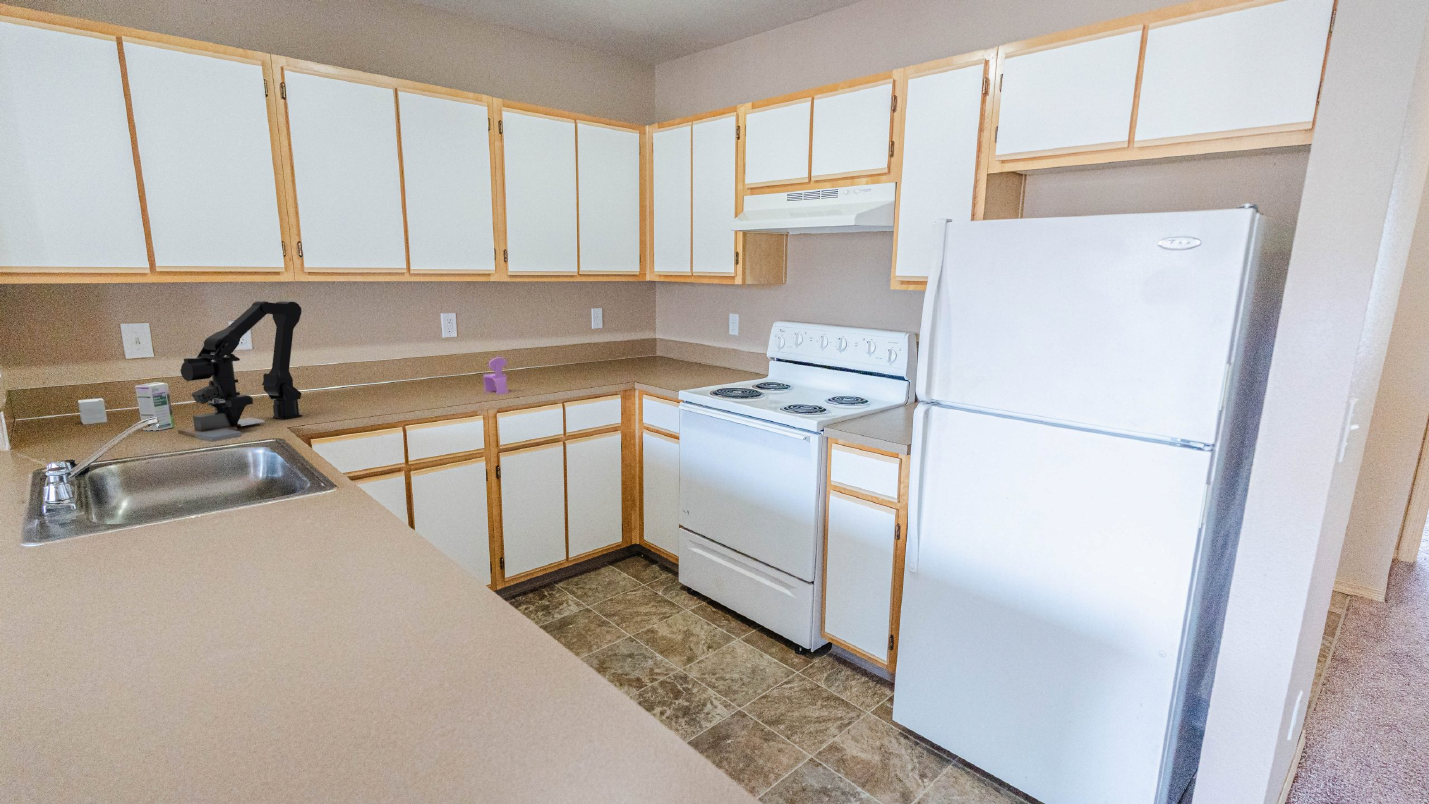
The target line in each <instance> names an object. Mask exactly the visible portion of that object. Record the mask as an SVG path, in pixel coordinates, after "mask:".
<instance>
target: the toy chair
mask: <svg viewBox="0 0 1429 804" xmlns="http://www.w3.org/2000/svg"><path fill="white" fill-rule="evenodd" d="M506 364H507V361H506V359H505V358H504V357H503V356H498V357H494V358H492V359H491V360H490V361H489V362H488V366H489V369H490V370H492V371H493V372H494V373H490V374H483V378H482V379H483V382H484V393H490V392H496V393H495V395H503V394H508V393H510V391H509V388H508V387H507V386H508V385H507V380H508V377H507V374H505V373H503V368H504V367H505V366H506Z"/></svg>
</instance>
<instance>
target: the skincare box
mask: <svg viewBox="0 0 1429 804" xmlns="http://www.w3.org/2000/svg"><path fill="white" fill-rule="evenodd" d="M77 403H78V404H77V405H78V409H79V415H80V421H81V423H82V425H92V424H100V423H108V417H107V412H106V406H105V405H106V404H105V400H104V399H103V398H102V397H101V398H89V399H88V398H87V399H79V400H77Z"/></svg>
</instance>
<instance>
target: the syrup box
mask: <svg viewBox="0 0 1429 804" xmlns="http://www.w3.org/2000/svg"><path fill="white" fill-rule="evenodd" d="M134 388H135V393H136V400H137V404H138V409H139V415H140V421H142V420H145V419H148V418H150V417H157V418H158V420H159V426H158V429H157V428H156V427H155V426H152V427H148V428H142V430H143V431H146V430H147V432H151V431H150V430H153V431H152V432H157V431H156V430H159V431H163V430H167V429H171V428H175V421H174V415H173V414H174V413H173V410H172V409H173V408H172V403H171V397H170V389H169V384H168V383H167V382H160V381H159V382H157V381H156V382H149V383H144V384H137V385H135V386H134Z"/></svg>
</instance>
